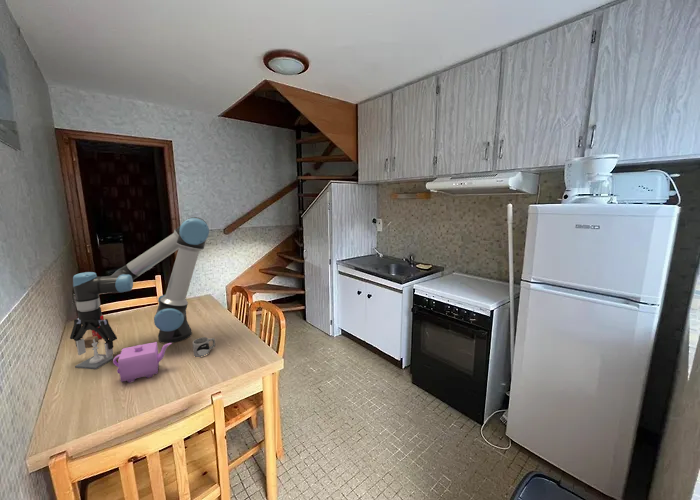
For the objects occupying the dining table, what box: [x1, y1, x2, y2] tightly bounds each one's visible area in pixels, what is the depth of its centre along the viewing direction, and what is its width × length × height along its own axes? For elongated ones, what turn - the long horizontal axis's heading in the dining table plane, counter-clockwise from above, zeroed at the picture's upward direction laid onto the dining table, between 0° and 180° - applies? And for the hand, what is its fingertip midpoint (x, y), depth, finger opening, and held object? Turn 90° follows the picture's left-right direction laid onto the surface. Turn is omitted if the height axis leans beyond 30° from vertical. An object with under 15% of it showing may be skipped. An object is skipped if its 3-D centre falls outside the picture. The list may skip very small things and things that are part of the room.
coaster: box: [74, 353, 113, 370], centre depth 129 cm, size 10×10×1 cm
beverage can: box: [91, 314, 105, 340], centre depth 151 cm, size 5×5×12 cm
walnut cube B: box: [113, 350, 122, 363], centre depth 129 cm, size 4×4×4 cm
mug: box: [192, 337, 216, 358], centre depth 137 cm, size 10×7×7 cm
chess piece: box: [90, 339, 104, 363], centre depth 128 cm, size 5×5×10 cm
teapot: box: [112, 341, 173, 384], centre depth 120 cm, size 20×10×12 cm, turn 120°
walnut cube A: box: [83, 335, 100, 349], centre depth 143 cm, size 4×4×4 cm
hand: (95, 354), depth 128 cm, fingers open, 13 cm apart
